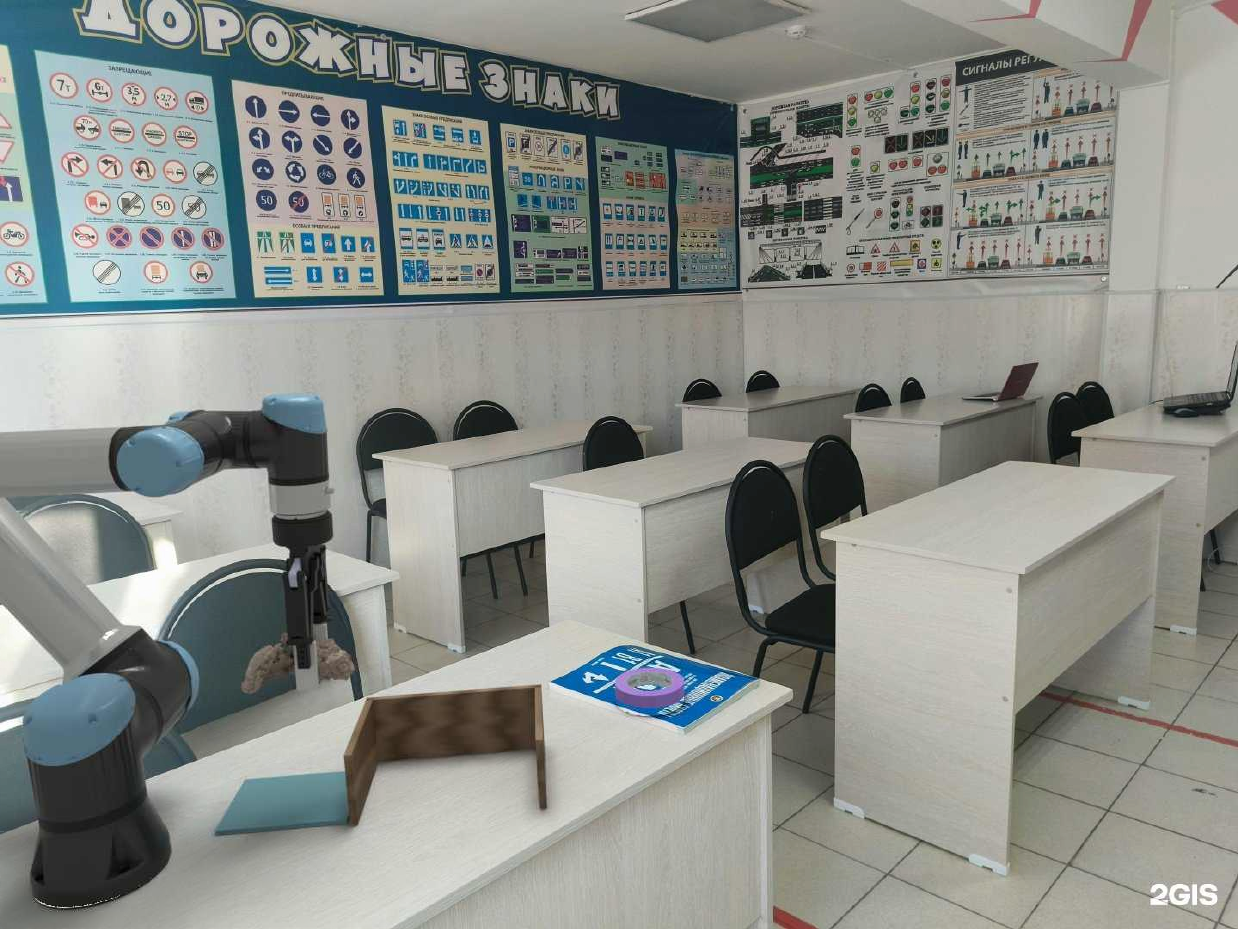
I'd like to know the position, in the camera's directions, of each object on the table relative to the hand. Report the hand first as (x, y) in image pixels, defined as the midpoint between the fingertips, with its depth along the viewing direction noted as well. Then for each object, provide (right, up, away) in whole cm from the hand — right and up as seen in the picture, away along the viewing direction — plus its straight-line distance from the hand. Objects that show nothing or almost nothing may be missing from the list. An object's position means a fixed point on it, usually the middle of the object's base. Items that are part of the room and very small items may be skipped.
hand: (313, 678), depth 122 cm
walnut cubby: (+18, -17, +7) cm, 25 cm away
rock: (-2, -1, -1) cm, 2 cm away
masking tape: (+47, -11, +31) cm, 57 cm away
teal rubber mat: (-4, -18, +3) cm, 19 cm away
